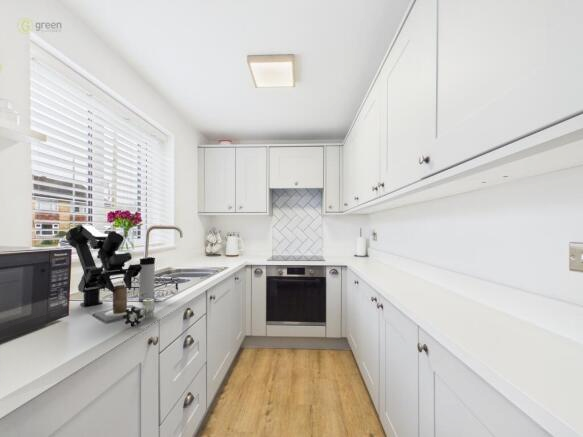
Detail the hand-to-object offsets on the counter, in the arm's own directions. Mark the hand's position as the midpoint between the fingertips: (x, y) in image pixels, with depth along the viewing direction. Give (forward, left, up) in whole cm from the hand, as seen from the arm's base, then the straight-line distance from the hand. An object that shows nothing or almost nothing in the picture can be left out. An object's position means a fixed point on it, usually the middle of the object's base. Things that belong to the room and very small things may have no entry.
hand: (122, 290), depth 104 cm
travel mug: (-14, +16, -10) cm, 24 cm away
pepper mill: (-1, 0, -8) cm, 9 cm away
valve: (+12, +2, -10) cm, 16 cm away
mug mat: (-1, 0, -10) cm, 10 cm away
